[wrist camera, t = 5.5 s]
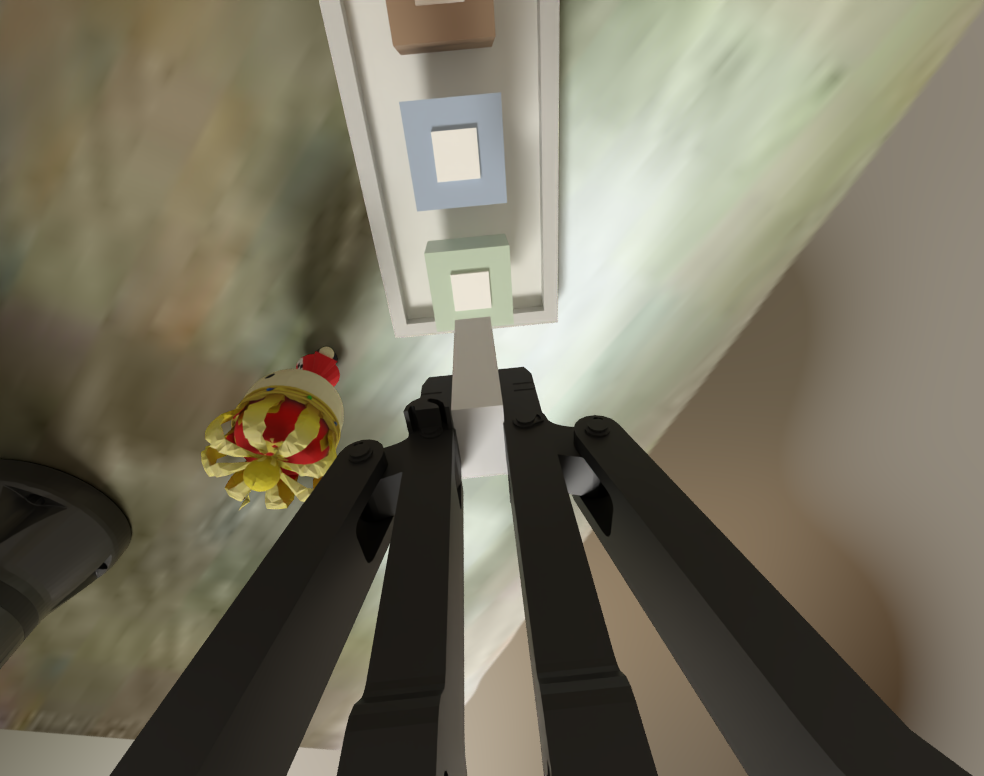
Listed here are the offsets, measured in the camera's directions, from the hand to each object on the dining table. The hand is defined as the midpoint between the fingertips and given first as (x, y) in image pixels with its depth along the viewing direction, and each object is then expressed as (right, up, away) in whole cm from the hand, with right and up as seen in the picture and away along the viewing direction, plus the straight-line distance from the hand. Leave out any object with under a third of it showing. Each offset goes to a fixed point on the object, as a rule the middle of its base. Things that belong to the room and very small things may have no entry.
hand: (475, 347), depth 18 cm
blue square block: (-1, +11, +5) cm, 13 cm away
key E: (-1, +6, +9) cm, 11 cm away
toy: (-13, 0, +16) cm, 20 cm away
